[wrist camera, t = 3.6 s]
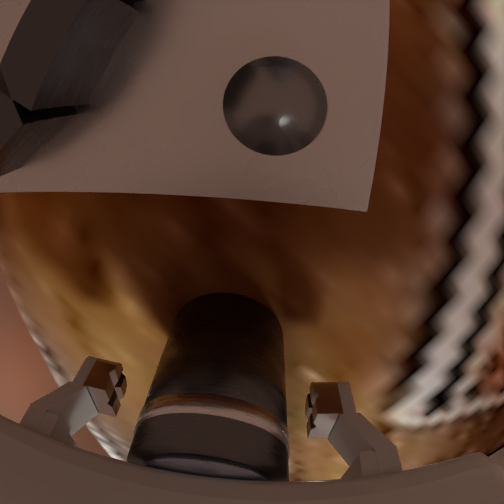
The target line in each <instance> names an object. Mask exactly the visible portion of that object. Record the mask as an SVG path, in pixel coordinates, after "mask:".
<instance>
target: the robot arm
mask: <svg viewBox="0 0 504 504" xmlns="http://www.w3.org/2000/svg"><path fill="white" fill-rule="evenodd" d="M122 371H123V367H122V364H120V363H117V362H112V361H108V360H104V359H100V358H95V357H91V356H88V357H87V358H86V359H85V361H84V363H83V364H82V366H81V368H80V370H79V371H78V373H77V375H76V377H75V378H74V380H73V382H68V383H66V384H65V385H63V386H61V387H59V388H58V389H56V390H54V391H52V392H51V393H49V394H47V395H45V396H44V397H42V398H40V399H38V400H36V401H35V402H33V403H31V404H30V406H29V408H28V410H27V411H26V413H25V415H24V417H23V418H22V420H21V422H20V424H18V423H16V422H14V421H12V420H10V419H8V418H6V417H4V416H2V415H0V504H504V447H503V448H502V449H500V450H499V451H497V452H495V453H494V454H492V455H490V456H489V457H488V456H486V455H485V454H483V453H481V452H475V453H471V454H467V455H464V456H461V457H458V458H454V459H451V460H447V461H443V462H439V463H435V464H431V465H427V466H422V467H418V468H413V469H408V470H403V471H402V467H401V463H400V459H399V455H398V451H397V448H396V446H395V445H394V444H393V443H392V442H391V441H390V440H389V439H388V438H387V437H385V436H384V435H383V434H382V433H381V432H380V431H379V430H378V429H377V428H376V427H375V426H373V425H372V424H371V423H370V422H369V421H368V420H367V419H366V418H365V417H364V416H363V415H362V414H360V413H356V408H355V404H354V400H353V396H352V392H351V387H350V384H349V383H348V382H312V383H311V385H310V394H308V395H307V398H306V404H305V414H306V417H307V418H308V422H307V425H306V426H307V436H308V438H328V440H329V441H330V442H331V444H332V445H333V446H334V448H335V449H336V450H337V451H338V453H339V454H340V455H341V456H342V458H343V459H344V460H345V461H346V463H347V464H348V465H349V466H350V467H349V468H348V470H347V471H346V472H345V474H344V475H343V476H342V477H341V479H335V480H320V481H251V480H236V479H224V478H215V477H206V476H198V475H191V474H184V473H178V472H172V471H167V470H161V469H156V468H152V467H147V466H142V465H138V464H134V463H130V462H126V461H122V460H118V459H114V458H111V457H107V456H103V455H100V454H97V453H94V452H90V451H87V450H84V449H81V448H78V447H77V444H76V443H75V441H74V440H73V439H72V437H71V435H73V434H74V433H75V432H76V431H78V430H79V429H80V428H81V427H83V426H84V425H85V424H86V423H87V422H89V421H90V420H91V419H92V418H94V417H95V416H96V415H97V414H98V413H102V414H107V415H111V416H116V415H117V413H118V410H119V408H120V405H121V404H120V402H119V400H120V399H121V398H123V397H124V395H125V392H126V387H127V382H126V377H125V376H124V375H123V374H122Z"/></svg>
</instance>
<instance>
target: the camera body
mask: <svg viewBox="0 0 504 504" xmlns="http://www.w3.org/2000/svg"><path fill="white" fill-rule="evenodd" d="M389 15H390V0H0V193H2V192H111V193H142V194H166V195H185V196H202V197H218V198H232V199H245V200H258V201H269V202H280V203H291V204H301V205H311V206H321V207H330V208H339V209H347V210H356V211H364V212H367V209H368V204H369V199H370V193H371V188H372V182H373V176H374V170H375V164H376V158H377V151H378V144H379V137H380V130H381V122H382V114H383V105H384V95H385V85H386V73H387V60H388V43H389Z"/></svg>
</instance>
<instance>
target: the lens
mask: <svg viewBox="0 0 504 504" xmlns="http://www.w3.org/2000/svg"><path fill="white" fill-rule="evenodd" d="M289 456H290V448H289V432H288V429H287V407H286V384H285V363H284V344H283V331H282V328H281V325H280V323H279V321H278V319H277V318H276V316H275V315H274V314H273V313H272V312H271V311H270V310H269V309H268V308H267V307H265V306H264V305H262V304H261V303H259V302H257V301H255V300H253V299H251V298H249V297H246V296H242V295H238V294H232V293H213V294H207V295H204V296H200V297H198V298H196V299H193V300H192V301H190V302H189V303H187V304H186V305H185V306H184V307H183V308H182V309H181V310H180V311H179V313H178V314H177V316H176V319H175V321H174V324H173V327H172V329H171V332H170V335H169V337H168V340H167V343H166V345H165V348H164V351H163V354H162V356H161V359H160V362H159V365H158V367H157V370H156V373H155V376H154V379H153V381H152V384H151V387H150V390H149V393H148V396H147V399H146V402H145V405H144V407H143V408H142V410H141V412H140V415H139V418H138V421H137V423H136V426H135V430H134V438H133V441H132V444H131V447H130V450H129V453H128V457H127V462H130V463H134V464H138V465H142V466H147V467H152V468H156V469H161V470H167V471H172V472H178V473H184V474H191V475H198V476H206V477H215V478H224V479H236V480H251V481H289V467H288V460H289Z"/></svg>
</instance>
